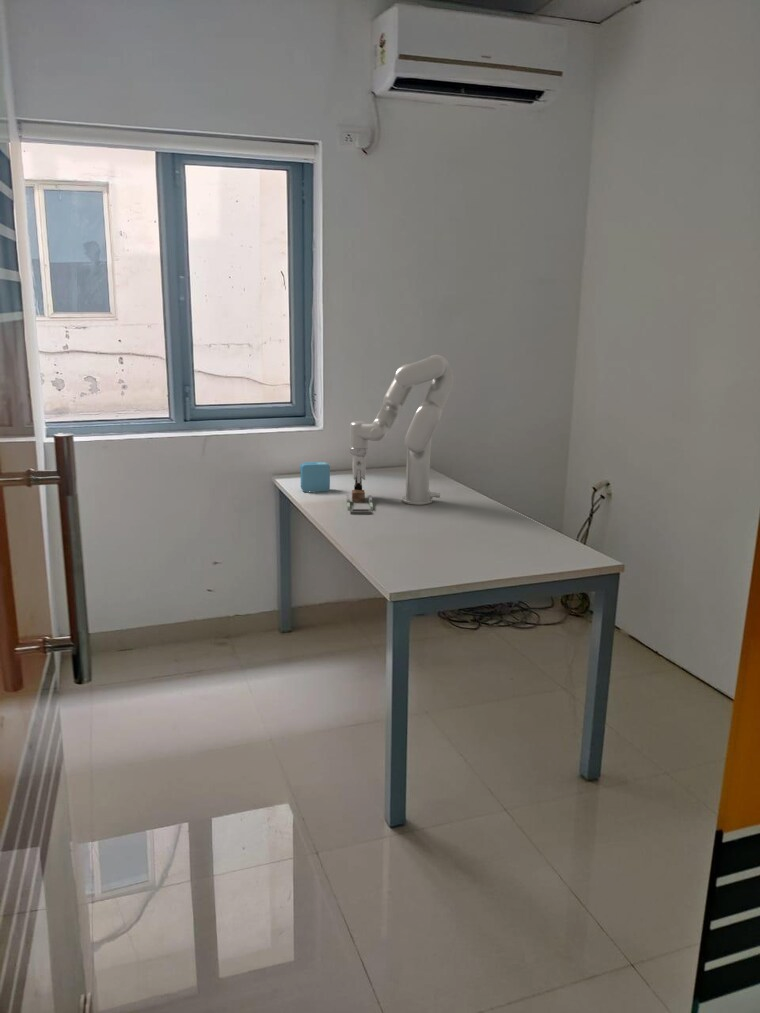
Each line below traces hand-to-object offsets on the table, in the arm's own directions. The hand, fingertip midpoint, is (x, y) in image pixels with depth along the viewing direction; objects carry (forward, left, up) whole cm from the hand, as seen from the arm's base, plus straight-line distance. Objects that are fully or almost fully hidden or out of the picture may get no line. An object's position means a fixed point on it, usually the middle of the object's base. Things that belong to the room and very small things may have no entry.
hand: (358, 494), depth 325 cm
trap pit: (0, +24, -1) cm, 24 cm away
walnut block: (0, +5, -1) cm, 5 cm away
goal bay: (0, +17, -1) cm, 17 cm away
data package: (+18, -12, -2) cm, 22 cm away
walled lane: (0, +9, -1) cm, 9 cm away
